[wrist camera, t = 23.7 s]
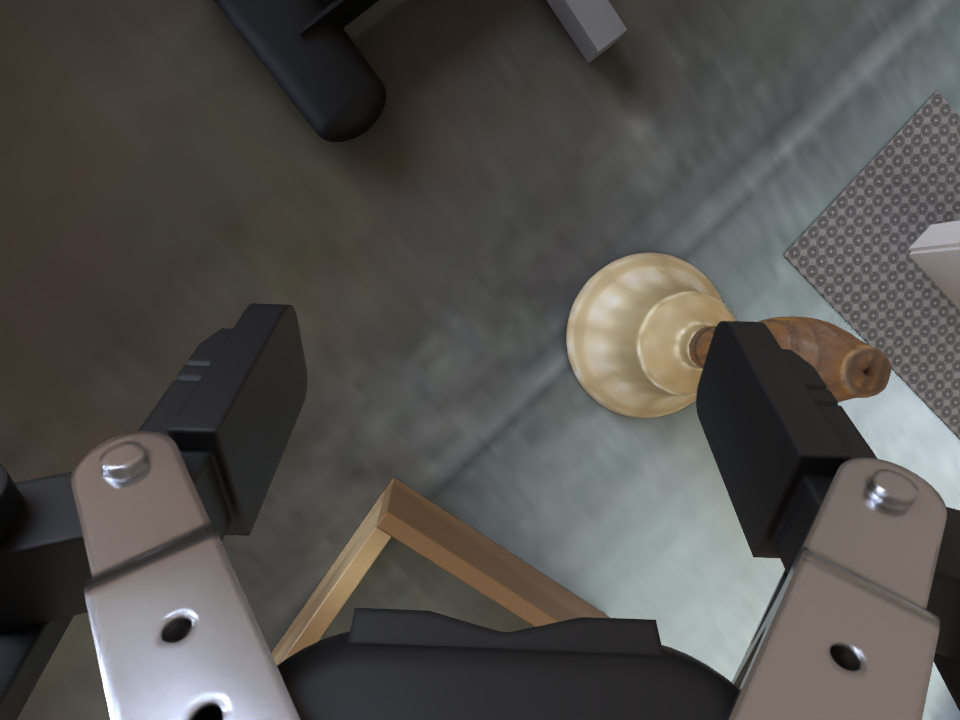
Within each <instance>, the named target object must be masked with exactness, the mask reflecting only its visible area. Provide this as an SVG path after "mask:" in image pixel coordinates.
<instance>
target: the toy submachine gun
mask: <svg viewBox="0 0 960 720" xmlns="http://www.w3.org/2000/svg"><path fill="white" fill-rule="evenodd" d="M214 1H215V2H216V3H217V5H218V6H219V7H220V9H221V10H222V11H223V12H224V14H225V15H226V16H227V18H228V19H229V20H230V21H231V23H232V24H233V25H234V27H235V28H236V29H237V31H238V32H239V33H240V34H241V36H242V37H243V38H244V40H245V41H246V42H247V44H248V45H249V46H250V47H251V49H252V50H253V51H254V53H255V54H256V55H257V56H258V58H259V59H260V60H261V62H262V63H263V64H264V66H265V67H266V68H267V69H268V71H269V72H270V73H271V75H272V76H273V77H274V78H275V80H276V81H277V82H278V84H279V85H280V86H281V88H282V89H283V90H284V91H285V93H286V94H287V95H288V97H289V98H290V99H291V101H292V102H293V103H294V104H295V106H296V107H297V108H298V110H299V111H300V112H301V113H302V115H303V116H304V117H305V119H306V120H307V121H308V123H309V124H310V125H311V126H312V128H313V129H314V130H315V132H316V133H317V134H318V135H319V136H320V137H321V138H323V139H325V140H327V141H331V142H343V141H347V140H351V139H353V138H356V137H358V136H359V135H361V134H363V133H364V132H366V131H367V130H368V129H369V128H370V127H371V126H372V125H373V124H374V123H375V122H376V121H377V119H378V118H379V117H380V115H381V113H382V111H383V109H384V106H385V102H386V90H385V87H384V84H383V83H382V81H381V80H380V78H379V77H378V76H377V74H376V73H375V72H374V70H373V69H372V68H371V66H370V65H369V64H368V62H367V61H366V59H365V58H364V57H363V55H362V54H361V53H360V51H359V50H358V49H357V47H356V46H355V44H354V43H353V42H352V40H351V39H350V38H349V36H348V35H347V34H346V32H345V31H344V30H343V28H344V27H345V26H346V25H348V24H349V23H350V22H351V21H353V20H354V19H355V18H357V17H358V16H359V15H361V14H362V13H363V12H364V11H366V10H367V9H368V8H370V7H371V6H372V5H373V4H375V3H376V2H377V1H379V0H335V1H334V2H333V3H332V4H330V5H329V6H328V7H327V6H326V5H325V4H324V2H323V1H322V0H214ZM546 1H547V2H548V4H549V5H550V7H551V8H552V10H553V11H554V13H555V14H556V16H557V17H558V19H559V20H560V22H561V24H562V25H563V27H564V28H565V30H566V31H567V33H568V34H569V36H570V37H571V39H572V40H573V42H574V43H575V45H576V46H577V48H578V49H579V51H580V52H581V54H582V55H583V57H584V58H585V60H586V62H587V63H588V64H589V63H590V62H591V61H593V60H594V59H595V58H596V57H598V56H599V55H600V54H602V53H603V52H604V51H605V50H607V49H608V48H609V47H611V46H612V45H613V44H614V43H616V41H617V40H618V39H619V38H620V37H621V36H622V35H623V34H624V33H625V31H626V30H627V28H626V27H625V25H624V24H623V22H622V21H621V19H620V17H619V16H618V14H617V13H616V11H615V10H614V8H613V6H612V5H611V3H610V2H609V0H546Z"/></svg>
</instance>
